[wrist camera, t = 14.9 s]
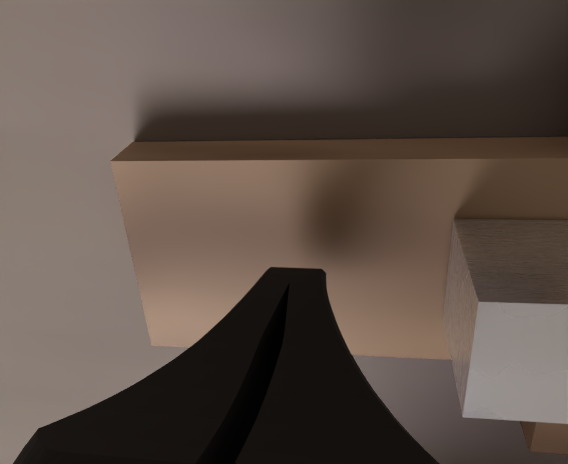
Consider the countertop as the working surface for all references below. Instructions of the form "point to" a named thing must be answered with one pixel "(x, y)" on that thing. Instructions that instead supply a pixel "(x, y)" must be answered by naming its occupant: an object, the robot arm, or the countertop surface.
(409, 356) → the press bed
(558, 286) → the block
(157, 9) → the countertop surface
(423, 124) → the countertop surface
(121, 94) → the countertop surface
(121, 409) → the robot arm
